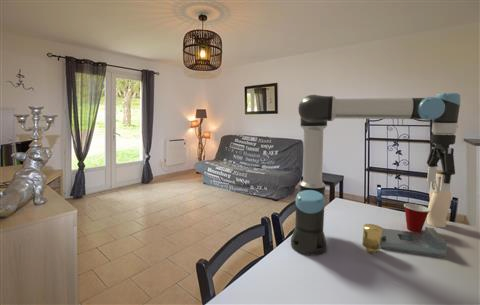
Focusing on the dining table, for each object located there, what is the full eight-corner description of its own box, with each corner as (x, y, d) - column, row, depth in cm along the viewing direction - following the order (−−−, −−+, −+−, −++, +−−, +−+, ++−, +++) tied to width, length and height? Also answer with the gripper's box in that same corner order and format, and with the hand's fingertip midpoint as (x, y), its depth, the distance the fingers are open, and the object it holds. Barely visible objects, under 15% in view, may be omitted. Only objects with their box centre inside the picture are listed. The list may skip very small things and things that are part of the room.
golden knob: (362, 253, 104) (364, 229, 102) (361, 245, 110) (362, 222, 109) (381, 256, 102) (383, 232, 100) (378, 248, 108) (380, 225, 106)
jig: (377, 247, 109) (378, 234, 108) (372, 232, 122) (373, 221, 121) (444, 257, 101) (446, 243, 100) (431, 240, 114) (433, 228, 113)
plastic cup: (433, 232, 121) (436, 208, 119) (417, 236, 118) (419, 212, 116) (411, 223, 131) (414, 201, 130) (396, 226, 128) (398, 204, 126)
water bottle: (440, 230, 124) (447, 174, 119) (420, 223, 132) (426, 170, 127) (451, 225, 128) (458, 171, 124) (431, 219, 136) (437, 168, 132)
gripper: (472, 137, 86) (464, 196, 90) (441, 131, 110) (436, 179, 113) (445, 136, 89) (438, 194, 92) (421, 131, 112) (416, 177, 115)
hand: (437, 186), depth 102 cm, fingers open, 13 cm apart
